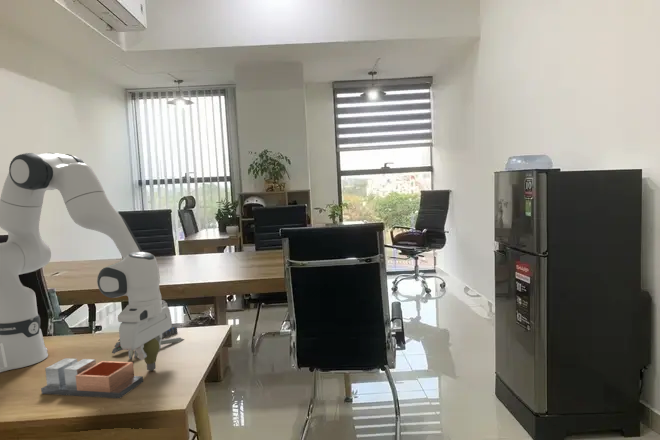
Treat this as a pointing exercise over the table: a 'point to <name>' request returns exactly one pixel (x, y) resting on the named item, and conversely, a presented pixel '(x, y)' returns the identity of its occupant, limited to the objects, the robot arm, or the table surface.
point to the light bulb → (151, 353)
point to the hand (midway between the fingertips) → (149, 354)
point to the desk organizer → (90, 378)
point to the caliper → (165, 341)
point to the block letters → (166, 334)
